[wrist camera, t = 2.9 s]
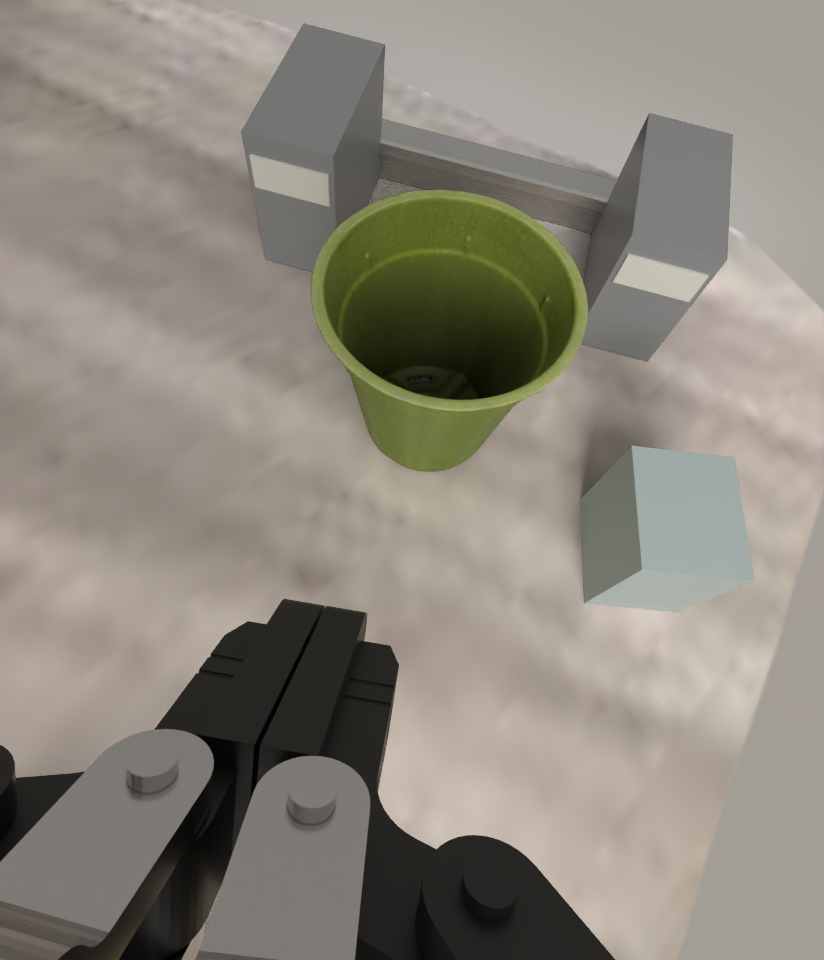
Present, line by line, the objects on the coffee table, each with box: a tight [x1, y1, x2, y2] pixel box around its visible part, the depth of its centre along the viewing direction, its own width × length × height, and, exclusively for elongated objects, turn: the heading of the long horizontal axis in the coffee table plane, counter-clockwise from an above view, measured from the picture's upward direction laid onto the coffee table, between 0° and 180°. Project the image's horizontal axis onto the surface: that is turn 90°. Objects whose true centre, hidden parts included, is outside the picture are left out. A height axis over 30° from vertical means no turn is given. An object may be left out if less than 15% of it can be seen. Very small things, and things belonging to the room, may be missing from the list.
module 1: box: [241, 24, 385, 272], centre depth 37 cm, size 5×10×9 cm, turn 165°
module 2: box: [581, 113, 733, 361], centre depth 36 cm, size 5×10×9 cm, turn 165°
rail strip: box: [379, 119, 617, 233], centre depth 42 cm, size 26×2×3 cm, turn 75°
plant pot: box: [311, 190, 588, 472], centre depth 30 cm, size 12×12×11 cm
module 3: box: [580, 446, 754, 612], centre depth 30 cm, size 5×6×7 cm
